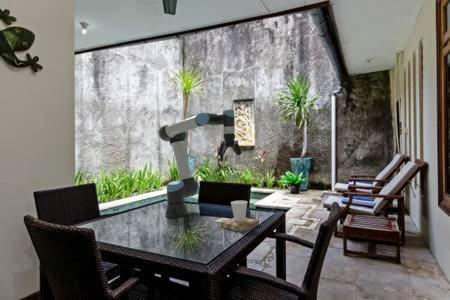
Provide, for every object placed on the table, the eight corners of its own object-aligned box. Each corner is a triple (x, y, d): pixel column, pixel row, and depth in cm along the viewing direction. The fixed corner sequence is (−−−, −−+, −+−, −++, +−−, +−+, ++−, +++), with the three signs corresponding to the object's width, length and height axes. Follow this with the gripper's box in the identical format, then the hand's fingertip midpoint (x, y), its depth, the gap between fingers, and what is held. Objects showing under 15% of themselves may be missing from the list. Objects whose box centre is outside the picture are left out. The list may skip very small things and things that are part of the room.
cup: (247, 223, 170) (246, 203, 170) (229, 223, 172) (229, 203, 172) (249, 218, 180) (248, 200, 179) (232, 218, 182) (232, 200, 181)
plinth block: (220, 227, 176) (220, 221, 176) (239, 221, 187) (238, 216, 187) (241, 232, 164) (241, 226, 164) (259, 225, 176) (259, 220, 176)
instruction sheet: (214, 221, 189) (214, 220, 189) (222, 218, 196) (222, 217, 196) (230, 223, 182) (230, 223, 182) (238, 220, 189) (238, 219, 189)
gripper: (219, 133, 187) (220, 167, 187) (246, 133, 204) (247, 164, 204) (211, 133, 192) (212, 166, 193) (238, 133, 209) (239, 163, 210)
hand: (230, 165), depth 199 cm, fingers open, 13 cm apart
